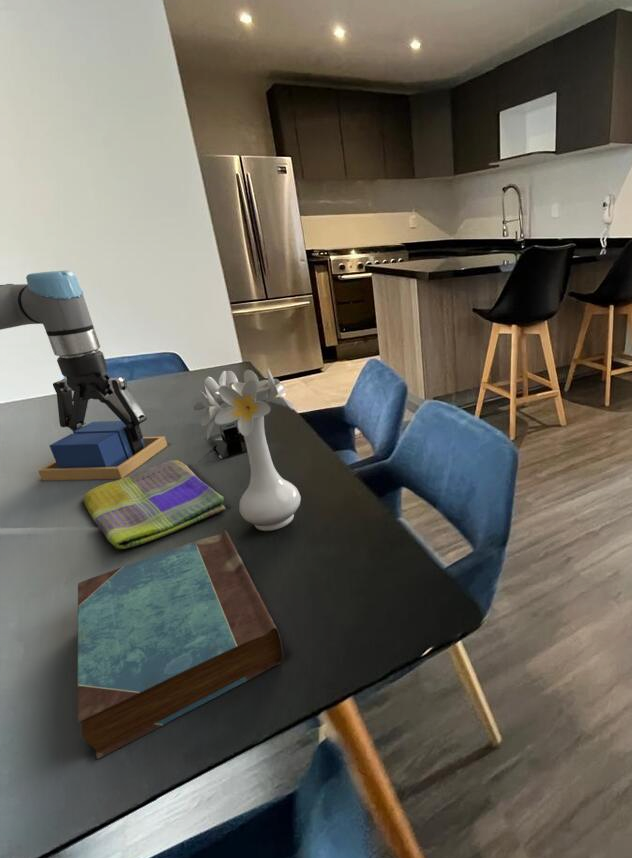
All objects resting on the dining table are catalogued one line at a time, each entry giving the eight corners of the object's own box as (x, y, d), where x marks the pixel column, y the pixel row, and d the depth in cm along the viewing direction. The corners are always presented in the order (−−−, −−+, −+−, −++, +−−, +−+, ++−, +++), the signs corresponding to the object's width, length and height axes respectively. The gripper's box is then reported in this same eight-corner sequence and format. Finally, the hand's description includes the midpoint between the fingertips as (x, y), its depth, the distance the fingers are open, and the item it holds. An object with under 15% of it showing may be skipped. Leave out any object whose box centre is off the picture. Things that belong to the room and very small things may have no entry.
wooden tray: (43, 483, 97) (37, 470, 96) (98, 449, 111) (94, 438, 110) (122, 481, 96) (118, 468, 94) (168, 447, 109) (164, 436, 108)
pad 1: (62, 477, 97) (49, 445, 95) (82, 464, 102) (71, 433, 100) (109, 476, 97) (97, 443, 94) (128, 463, 102) (117, 432, 99)
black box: (257, 449, 106) (252, 429, 104) (221, 460, 102) (216, 439, 100) (241, 432, 115) (236, 414, 113) (208, 441, 111) (203, 422, 110)
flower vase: (279, 486, 90) (250, 353, 80) (336, 522, 78) (309, 370, 68) (207, 517, 81) (164, 372, 72) (257, 563, 69) (214, 396, 60)
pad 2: (84, 462, 103) (72, 432, 100) (103, 451, 108) (92, 421, 105) (129, 461, 102) (118, 430, 99) (146, 449, 107) (136, 420, 104)
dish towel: (112, 559, 72) (106, 544, 71) (83, 502, 89) (77, 488, 88) (231, 510, 83) (227, 496, 82) (185, 467, 100) (181, 454, 99)
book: (286, 661, 53) (277, 626, 51) (93, 762, 44) (73, 724, 42) (235, 558, 71) (227, 529, 69) (89, 615, 62) (75, 583, 60)
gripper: (145, 346, 99) (176, 445, 107) (41, 351, 101) (79, 449, 109) (120, 355, 92) (155, 461, 101) (8, 361, 94) (52, 464, 102)
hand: (115, 455), depth 105 cm, fingers closed on pad 2, 10 cm apart
